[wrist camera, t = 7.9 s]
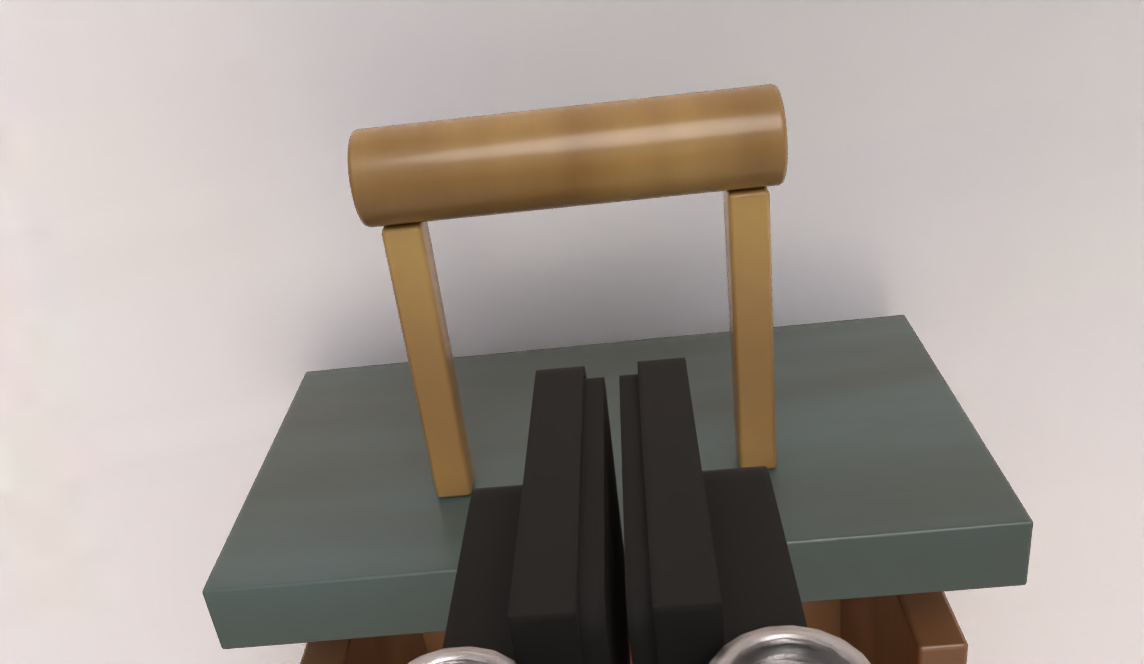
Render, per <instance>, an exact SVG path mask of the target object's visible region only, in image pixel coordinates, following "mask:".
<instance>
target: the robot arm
mask: <svg viewBox="0 0 1144 664" xmlns="http://www.w3.org/2000/svg"><path fill="white" fill-rule="evenodd" d="M637 368H638V374H632V375H620V376H619V388H620V422H621V455H622V488H623V521H624V545H623V536H622V527H621V518H620V510H619V501H618V492H617V483H616V474H615V465H614V456H613V447H612V438H611V429H610V420H609V412H608V403H607V394H606V385H605V379H604V377H597V378H587V376H586V371H585V367H584V366H577V367H566V368H554V369H542V370H536V374H535V382H534V390H533V399H532V408H531V417H530V425H529V434H528V443H527V452H526V460H525V469H524V478H523V485H512V486H500V487H487V488H476V489H474V490H473V492H472V495H471V499H470V503H469V509H468V514H467V519H466V525H465V530H464V535H463V541H462V546H461V551H460V557H459V562H458V567H457V573H456V578H455V584H454V589H453V594H452V600H451V605H450V610H449V616H448V621H447V626H446V632H445V637H444V642H443V648H442V649H441V650H438V651H435V652H431V653H428V654H425V655H421V656H420V657H418V658H416V659H414V660H412V661H410V662H409V663H407V664H630V648H631V657H632V664H870V662H869V661H868V660H867V658H866V657H865V656H864V654H863V653H861V652H860V651H858V650H857V649H856V648H854V647H853V646H852V645H850V644H849V643H847V642H846V641H845V640H843V639H841V638H839V637H836V636H834V635H831V634H829V633H826V632H824V631H821V630H819V629H813V628H808V627H807V623H806V619H805V615H804V611H803V607H802V603H801V599H800V595H799V591H798V587H797V583H796V579H795V574H794V570H793V566H792V562H791V558H790V554H789V550H788V546H787V542H786V538H785V534H784V530H783V526H782V522H781V518H780V514H779V510H778V506H777V502H776V498H775V494H774V490H773V486H772V482H771V478H770V474H769V471H768V468H767V467H766V466H758V467H745V468H732V469H719V470H706V471H702V467H701V460H700V453H699V447H698V440H697V433H696V426H695V420H694V413H693V406H692V400H691V393H690V386H689V379H688V373H687V366H686V360H685V357H683V358H671V359H659V360H647V361H637Z"/></svg>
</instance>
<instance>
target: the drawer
mask: <svg viewBox="0 0 1144 664" xmlns="http://www.w3.org/2000/svg"><path fill="white" fill-rule="evenodd" d="M787 160H788V144H787V128H786V118H785V111H784V106H783V101H782V97H781V94H780V92H779V90H778V88H777V86H775V85H772V84H769V85H760V86H751V87H741V88H732V89H723V90H714V91H705V92H695V93H686V94H677V95H668V96H659V97H649V98H640V99H631V100H622V101H613V102H604V103H594V104H585V105H576V106H567V107H558V108H548V109H539V110H530V111H521V112H512V113H502V114H493V115H484V116H475V117H466V118H457V119H447V120H438V121H429V122H420V123H411V124H401V125H392V126H383V127H374V128H365V129H357V130H355V131H354V132H353V133H352V134H351V136H350V140H349V145H348V174H349V182H350V188H351V193H352V197H353V201H354V205H355V208H356V210H357V213H358V215H359V217H360V219H361V221H362V223H363V224H364V225H365V226H368V227H378V226H384V228H383V230H382V238H383V242H384V247H385V252H386V257H387V261H388V266H389V271H390V276H391V280H392V285H393V290H394V295H395V299H396V304H397V309H398V314H399V318H400V323H401V328H402V333H403V338H404V342H405V347H406V352H407V357H408V361H409V362H405V363H394V364H384V365H373V366H363V367H352V368H342V369H331V370H321V371H310V372H306V374H305V376H304V378H303V380H302V382H301V385H300V387H299V389H298V391H297V393H296V395H295V397H294V399H293V401H292V403H291V406H290V408H289V410H288V412H287V414H286V416H285V418H284V420H283V422H282V425H281V427H280V429H279V431H278V433H277V435H276V437H275V439H274V441H273V443H272V446H271V448H270V450H269V452H268V454H267V456H266V458H265V460H264V462H263V465H262V467H261V469H260V471H259V473H258V475H257V477H256V479H255V481H254V484H253V486H252V488H251V490H250V492H249V494H248V496H247V498H246V500H245V502H244V505H243V507H242V509H241V511H240V513H239V515H238V517H237V519H236V521H235V524H234V526H233V528H232V530H231V532H230V534H229V536H228V538H227V540H226V542H225V545H224V547H223V549H222V551H221V553H220V555H219V557H218V559H217V561H216V564H215V566H214V568H213V570H212V572H211V574H210V576H209V578H208V580H207V583H206V585H205V587H204V589H203V596H204V598H205V601H206V604H207V607H208V610H209V613H210V615H211V618H212V621H213V624H214V627H215V629H216V632H217V635H218V638H219V641H220V644H221V646H222V648H223V649H231V648H244V647H256V646H269V645H281V644H294V643H306V642H307V644H306V647H305V650H304V654H303V657H302V660H301V663H300V664H407V663H409V662H410V661H412V660H414V659H416V658H418V657H420V656H421V655H425V654H428V653H431V652H435V651H438V650H441V649H442V648H443V642H444V637H445V632H446V626H447V621H448V616H449V610H450V605H451V600H452V594H453V589H454V584H455V578H456V573H457V567H458V562H459V557H460V551H461V546H462V541H463V535H464V530H465V525H466V519H467V514H468V509H469V503H470V499H471V495H472V492H473V490H474V489H476V488H487V487H500V486H512V485H523V478H524V469H525V460H526V452H527V443H528V434H529V425H530V417H531V408H532V399H533V390H534V382H535V374H536V370H542V369H554V368H566V367H577V366H584V367H585V371H586V376H587V378H597V377H604V379H605V385H606V394H607V403H608V412H609V420H610V429H611V438H612V447H613V456H614V465H615V474H616V483H617V492H618V501H619V510H620V518H621V527H622V536H623V545H624V521H623V488H622V455H621V422H620V388H619V376H620V375H632V374H638V368H637V361H647V360H659V359H671V358H683V357H685V360H686V366H687V373H688V379H689V386H690V393H691V400H692V406H693V413H694V420H695V426H696V433H697V440H698V447H699V453H700V460H701V467H702V471H706V470H719V469H732V468H745V467H758V466H766V467H767V468H768V471H769V474H770V478H771V482H772V486H773V490H774V494H775V498H776V502H777V506H778V510H779V514H780V518H781V522H782V526H783V530H784V534H785V538H786V542H787V546H788V550H789V554H790V558H791V562H792V566H793V570H794V574H795V579H796V583H797V587H798V591H799V595H800V599H801V603H802V607H803V611H804V615H805V619H806V623H807V627H808V628H813V629H819V630H821V631H824V632H826V633H829V634H831V635H834V636H836V637H839V638H841V639H843V640H845V641H846V642H847V643H849V644H850V645H852V646H853V647H854V648H856V649H857V650H858V651H860V652H861V653H863V654H864V656H865V657H866V658H867V660H868V661H869V662H870V664H966V662H967V650H968V644H967V642H966V640H965V637H964V635H963V633H962V631H961V629H960V626H959V624H958V622H957V620H956V618H955V615H954V613H953V611H952V609H951V607H950V604H949V602H948V600H947V598H946V596H945V594H944V591H954V590H967V589H979V588H991V587H1004V586H1016V585H1025V584H1026V582H1027V573H1028V564H1029V555H1030V546H1031V537H1032V528H1033V521H1032V520H1031V518H1030V516H1029V515H1028V513H1027V511H1026V510H1025V508H1024V507H1023V505H1022V503H1021V502H1020V500H1019V499H1018V497H1017V495H1016V494H1015V492H1014V491H1013V489H1012V487H1011V486H1010V484H1009V483H1008V481H1007V479H1006V478H1005V476H1004V475H1003V473H1002V471H1001V470H1000V468H999V467H998V465H997V463H996V462H995V460H994V458H993V457H992V455H991V454H990V452H989V450H988V449H987V447H986V446H985V444H984V442H983V441H982V439H981V438H980V436H979V434H978V433H977V431H976V430H975V428H974V426H973V425H972V423H971V422H970V420H969V418H968V417H967V415H966V414H965V412H964V410H963V409H962V407H961V405H960V404H959V402H958V401H957V399H956V397H955V396H954V394H953V393H952V391H951V389H950V388H949V386H948V385H947V383H946V381H945V380H944V378H943V377H942V375H941V373H940V372H939V370H938V369H937V367H936V365H935V364H934V362H933V361H932V359H931V357H930V356H929V354H928V352H927V351H926V349H925V348H924V346H923V344H922V343H921V341H920V340H919V338H918V336H917V335H916V333H915V332H914V330H913V328H912V327H911V325H910V324H909V322H908V320H907V319H906V317H905V316H904V315H897V316H886V317H876V318H865V319H855V320H844V321H834V322H824V323H813V324H803V325H792V326H782V327H773V309H772V272H771V234H770V196H769V192H768V190H767V187H766V186H775V185H780V184H782V183H783V182H784V179H785V176H786V171H787ZM717 191H723V193H724V214H725V235H726V256H727V277H728V298H729V319H730V331H729V332H719V333H708V334H698V335H687V336H677V337H666V338H656V339H646V340H635V341H625V342H614V343H604V344H593V345H583V346H572V347H562V348H551V349H541V350H530V351H520V352H509V353H499V354H488V355H478V356H467V357H457V358H453V357H452V351H451V346H450V341H449V335H448V330H447V325H446V319H445V314H444V309H443V303H442V298H441V293H440V287H439V282H438V277H437V271H436V266H435V261H434V255H433V250H432V245H431V239H430V234H429V229H428V223H427V221H437V220H446V219H456V218H466V217H475V216H485V215H495V214H504V213H514V212H524V211H533V210H543V209H553V208H562V207H572V206H582V205H591V204H601V203H611V202H621V201H630V200H640V199H650V198H659V197H669V196H679V195H688V194H698V193H708V192H717Z"/></svg>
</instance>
